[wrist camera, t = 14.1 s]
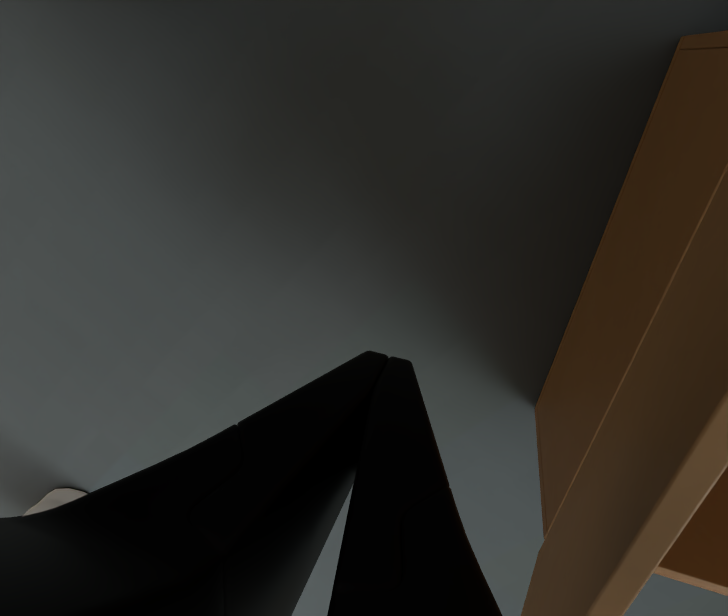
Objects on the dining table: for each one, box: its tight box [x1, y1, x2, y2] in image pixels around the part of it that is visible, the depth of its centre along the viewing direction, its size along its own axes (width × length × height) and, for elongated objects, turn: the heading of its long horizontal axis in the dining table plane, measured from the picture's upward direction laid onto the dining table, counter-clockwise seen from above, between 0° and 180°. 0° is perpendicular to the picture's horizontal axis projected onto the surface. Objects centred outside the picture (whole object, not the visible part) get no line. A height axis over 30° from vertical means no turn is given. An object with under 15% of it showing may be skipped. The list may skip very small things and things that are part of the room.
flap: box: [521, 168, 728, 616], centre depth 10 cm, size 7×16×1 cm
